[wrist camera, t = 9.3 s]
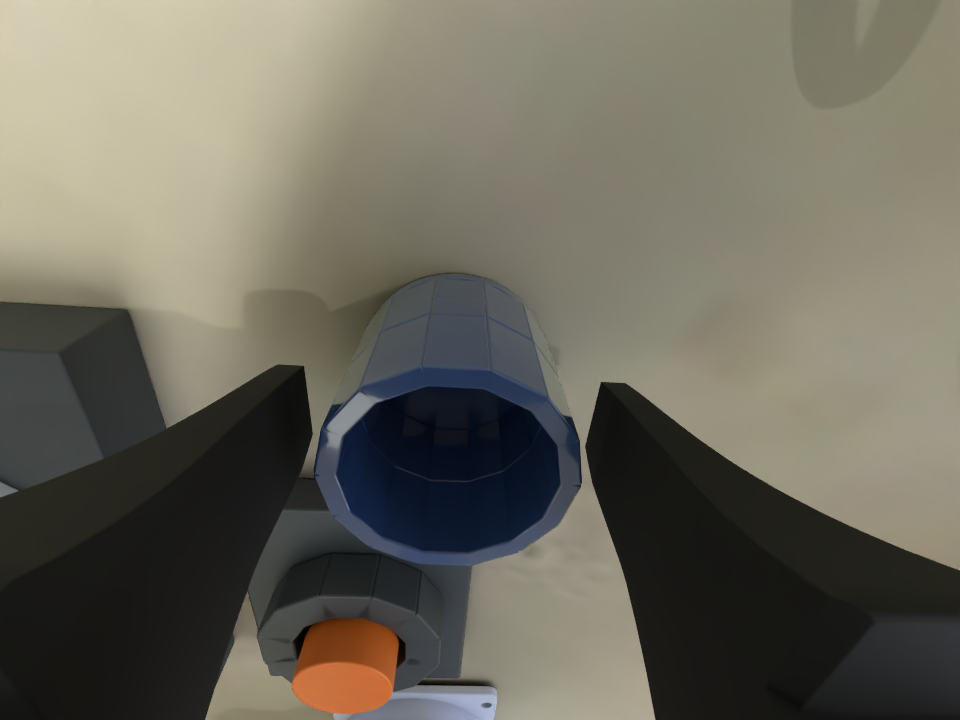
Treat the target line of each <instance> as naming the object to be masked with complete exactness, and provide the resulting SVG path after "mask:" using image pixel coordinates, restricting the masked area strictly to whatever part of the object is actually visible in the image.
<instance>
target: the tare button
mask: <svg viewBox="0 0 960 720" xmlns="http://www.w3.org/2000/svg"><path fill="white" fill-rule="evenodd" d="M398 648H399V641H398V638H397V635H396V634H395V632H394V631H393V630H392V629H391V628H388V627H386V626H383V625H380V624H377V623H374V622H371V621H369V620H366V619H359V618H330V619H327V620H324V621H321V622H318V623H315V624H314V625H313V626H312V627H311V628H310V629H309V630H308V632H307V634H306V637H305V640H304V643H303V646H302V650H301V653H300V656H299V660H298V663H297V666H296V670H295V673H294V676H293V680H292V689H293V692H294V694H295V695H296V697H297V698H298V699H299V700H300V701H302V702H303V703H305V704H306V705H308V706H310V707H313V708H315V709H318V710H321V711H325V712H330V713H337V714H356V713H363V712H368V711H371V710H374V709H377V708H379V707H381V706H382V705H384V704H385V703H386V702H387V701H388V700H389V699H390V697H391V696H392V693H393V688H394V680H395V672H396V664H397V656H398Z"/></svg>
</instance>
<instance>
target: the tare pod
mask: <svg viewBox="0 0 960 720" xmlns="http://www.w3.org/2000/svg"><path fill="white" fill-rule="evenodd" d="M471 570H472V565H471V564H470V565H469V566H462V565H428V564H419V563H417V564H416V563H413V562H410V561H408V560H405V559H402V558H399V557H396V556H393V555H390V554H387V553H384V552H381V551H378V550H376V549H373V548H371V547H369V546H367V545H366V544H365V543H364V542H362V541H361V540H360V539H359V538H357V537H356V536H355V535H354V534H353V533H351V532H350V531H349V530H348V529H346V528H345V527H344V526H343V525H342V524H340V523H339V522H338V521H337V520H336V519H334V518H333V516H332V515H331V513H330V511H329V509H328V507H327V504H326V502H325V500H324V497H323V495H322V493H321V491H320V488H319V486H318V484H317V481H316V480H315V479H297V481H296V483H295V485H294V487H293V489H292V492H291V494H290V496H289V498H288V500H287V502H286V504H285V506H284V508H283V510H282V512H281V515H280V517H279V519H278V521H277V523H276V525H275V527H274V529H273V531H272V533H271V535H270V537H269V539H268V542H267V544H266V546H265V548H264V550H263V552H262V554H261V557H260V559H259V561H258V564H257V566H256V568H255V571H254V573H253V576H252V579H251V581H250V584H249V587H248V590H247V591H248V594H249V598H250V602H251V605H252V609H253V613H254V616H255V620H256V624H257V627H258V633H257V639H258V643H259V646H260V650H261V653H262V657H263V660H264V662H265V664H267V665H268V668H269V671H270V675H272V676H283V677H284V678H285V679H287V680H288V681H289V682H291V683H292V680H293V676H294V673H295V670H296V666H297V663H298V660H299V656H300V653H301V650H302V646H303V643H304V640H305V637H306V634H307V632H308V630H309V629H310V628H311V627H312V626H313V625H314V624H315V623H318V622H321V621H324V620H327V619H330V618H359V619H366V620H369V621H371V622H374V623H377V624H380V625H383V626H386V627H388V628H391V629H392V630H393V631H394V632H395V634H396V635H397V638H398V641H399V648H398V656H397V664H396V672H395V680H394V688H393V692H397V691H400V690H404V689H407V688H411V687H414V686H415V685H417V684H418V683H419V682H420V681H422V680H423V679H424V678H460V674H461V664H462V655H463V645H464V636H465V626H466V617H467V608H468V598H469V589H470V579H471Z"/></svg>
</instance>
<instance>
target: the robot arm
mask: <svg viewBox="0 0 960 720" xmlns="http://www.w3.org/2000/svg"><path fill="white" fill-rule="evenodd" d="M312 435H313V433H312V425H311V417H310V409H309V402H308V394H307V386H306V378H305V371H304V366H295V365H276V366H274V367H272V368H270V369H268V370H267V371H265V372H263V373H262V374H260V375H258V376H257V377H255V378H253V379H252V380H250V381H248V382H247V383H245V384H244V385H242V386H240V387H239V388H237V389H235V390H234V391H232V392H230V393H229V394H227V395H225V396H224V397H222V398H221V399H219V400H217V401H216V402H214V403H212V404H211V405H209V406H207V407H205V408H204V409H202V410H200V411H198V412H196V413H195V414H193V415H191V416H189V417H187V418H186V419H184V420H182V421H180V422H178V423H177V424H175V425H173V426H171V427H169V428H167V429H166V430H164V431H162V432H160V433H158V434H156V435H154V436H152V437H150V438H148V439H146V440H144V441H142V442H140V443H137V444H135V445H133V446H131V447H129V448H126V449H124V450H122V451H120V452H118V453H115V454H113V455H111V456H109V457H106V458H104V459H102V460H99V461H97V462H94V463H92V464H89V465H86V466H84V467H81V468H79V469H76V470H74V471H71V472H69V473H66V474H63V475H61V476H58V477H56V478H53V479H51V480H48V481H46V482H43V483H40V484H37V485H35V486H32V487H29V488H26V489H23V490H20V491H17V492H14V493H11V494H8V495H6V496H3V497H0V720H205V718H206V715H207V711H208V708H209V705H210V702H211V698H212V695H213V692H214V689H215V685H216V682H217V679H218V676H219V673H220V669H221V666H222V663H223V660H224V657H225V654H226V651H227V648H228V645H229V642H230V639H231V636H232V633H233V630H234V627H235V624H236V621H237V618H238V615H239V612H240V609H241V607H242V604H243V601H244V598H245V595H246V593H247V590H248V587H249V584H250V581H251V579H252V576H253V573H254V571H255V568H256V566H257V564H258V561H259V559H260V557H261V554H262V552H263V550H264V548H265V546H266V544H267V542H268V539H269V537H270V535H271V533H272V531H273V529H274V527H275V525H276V523H277V521H278V519H279V517H280V515H281V512H282V510H283V508H284V506H285V504H286V502H287V500H288V498H289V496H290V494H291V492H292V489H293V487H294V485H295V483H296V481H297V479H298V477H299V474H300V472H301V470H302V467H303V464H304V461H305V458H306V455H307V452H308V448H309V445H310V442H311V438H312ZM585 448H586V453H587V459H588V464H589V469H590V474H591V479H592V483H593V486H594V489H595V492H596V495H597V498H598V501H599V504H600V507H601V509H602V512H603V515H604V518H605V521H606V524H607V527H608V529H609V532H610V535H611V538H612V541H613V544H614V546H615V549H616V552H617V555H618V558H619V561H620V563H621V567H622V570H623V573H624V577H625V580H626V583H627V588H628V592H629V596H630V600H631V604H632V609H633V613H634V617H635V621H636V625H637V630H638V635H639V639H640V644H641V649H642V653H643V658H644V663H645V667H646V672H647V677H648V682H649V688H650V693H651V698H652V703H653V709H654V714H655V719H656V720H960V571H959V570H956V569H954V568H951V567H948V566H946V565H943V564H941V563H938V562H935V561H933V560H930V559H927V558H925V557H922V556H920V555H917V554H914V553H912V552H909V551H906V550H904V549H901V548H899V547H897V546H894V545H892V544H889V543H887V542H885V541H883V540H880V539H878V538H876V537H873V536H871V535H869V534H866V533H864V532H862V531H860V530H857V529H855V528H853V527H851V526H848V525H846V524H844V523H842V522H840V521H838V520H836V519H834V518H831V517H829V516H827V515H825V514H823V513H821V512H819V511H817V510H815V509H813V508H811V507H809V506H808V505H806V504H804V503H802V502H800V501H798V500H796V499H794V498H792V497H790V496H788V495H786V494H785V493H783V492H781V491H779V490H777V489H775V488H774V487H772V486H770V485H768V484H767V483H765V482H763V481H762V480H760V479H758V478H757V477H755V476H753V475H752V474H750V473H748V472H747V471H745V470H743V469H742V468H740V467H739V466H737V465H736V464H734V463H732V462H731V461H729V460H728V459H726V458H725V457H723V456H722V455H721V454H719V453H718V452H716V451H715V450H713V449H712V448H710V447H709V446H708V445H706V444H705V443H703V442H702V441H701V440H699V439H698V438H696V437H695V436H694V435H692V434H691V433H690V432H688V431H687V430H686V429H684V428H683V427H682V426H680V425H679V424H678V423H677V422H675V421H674V420H673V419H671V418H670V417H669V416H668V415H666V414H665V413H664V412H663V411H661V410H660V409H659V408H658V407H656V406H655V405H654V404H652V403H651V402H650V401H649V400H647V399H646V398H645V397H644V396H642V395H641V394H640V393H638V392H637V391H636V390H634V389H633V388H632V387H630V386H629V385H627V384H626V383H610V382H601V384H600V388H599V393H598V397H597V401H596V405H595V409H594V413H593V417H592V421H591V425H590V429H589V433H588V437H587V442H586V446H585ZM496 704H497V690H496V689H495V688H493V687H490V686H439V685H415V686H414V687H411V688H407V689H404V690H400V691H397V692H393V693H392V696H391V697H390V699H389V700H388V701H387V702H386V703H385V704H384V705H382V706H381V707H379V708H377V709H374V710H371V711H368V712H363V713H356V714H337V713H333V717H334V720H494V715H495V710H496Z"/></svg>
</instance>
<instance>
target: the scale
mask: <svg viewBox="0 0 960 720" xmlns="http://www.w3.org/2000/svg"><path fill="white" fill-rule="evenodd" d="M164 430H166V427H165V424H164V421H163V418H162V415H161V412H160V409H159V406H158V403H157V400H156V396H155V393H154V390H153V387H152V384H151V381H150V378H149V375H148V372H147V369H146V365H145V362H144V359H143V356H142V353H141V350H140V347H139V344H138V341H137V338H136V334H135V331H134V328H133V325H132V322H131V319H130V316H129V313H128V311H127V310H120V309H103V308H86V307H69V306H53V305H36V304H19V303H2V302H0V497H3V496H6V495H8V494H11V493H14V492H17V491H20V490H23V489H26V488H29V487H32V486H35V485H37V484H40V483H43V482H46V481H48V480H51V479H53V478H56V477H58V476H61V475H63V474H66V473H69V472H71V471H74V470H76V469H79V468H81V467H84V466H86V465H89V464H92V463H94V462H97V461H99V460H102V459H104V458H106V457H109V456H111V455H113V454H115V453H118V452H120V451H122V450H124V449H126V448H129V447H131V446H133V445H135V444H137V443H140V442H142V441H144V440H146V439H148V438H150V437H152V436H154V435H156V434H158V433H160V432H162V431H164ZM233 645H234V638H233V635H232V636H231V639H230V642H229V645H228V648H227V651H226V654H225V657H224V660H223V663H222V666H221V669H220V673H219V676H218V679H219V677H220V675H221V672H222V670H223V668H224V665H225V663H226V661H227V658H228V656H229V654H230V652H231V649H232V647H233ZM218 679H217V682H218ZM217 682H216V684H217ZM215 686H216V685H215Z"/></svg>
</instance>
